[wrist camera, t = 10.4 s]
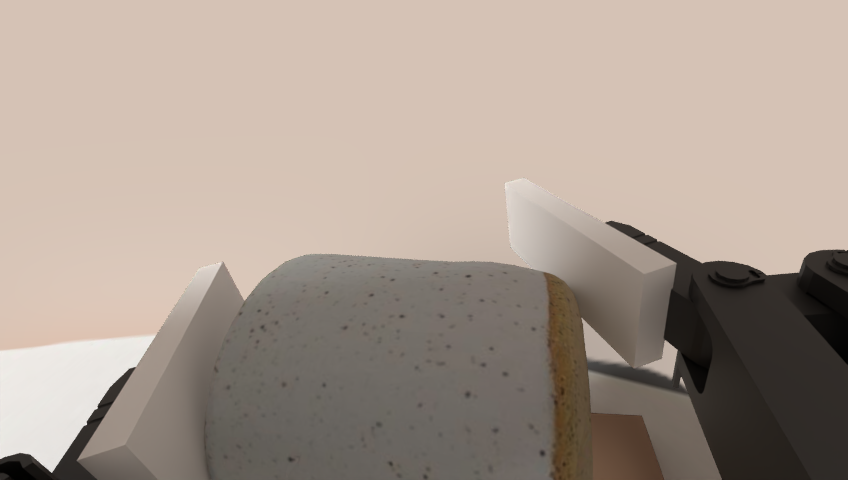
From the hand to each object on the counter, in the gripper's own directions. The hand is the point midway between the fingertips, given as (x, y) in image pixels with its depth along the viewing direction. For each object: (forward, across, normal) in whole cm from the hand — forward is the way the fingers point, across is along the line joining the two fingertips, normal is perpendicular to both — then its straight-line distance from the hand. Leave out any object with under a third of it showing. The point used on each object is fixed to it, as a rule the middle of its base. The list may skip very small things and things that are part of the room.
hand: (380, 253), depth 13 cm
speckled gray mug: (-3, 0, -6) cm, 7 cm away
